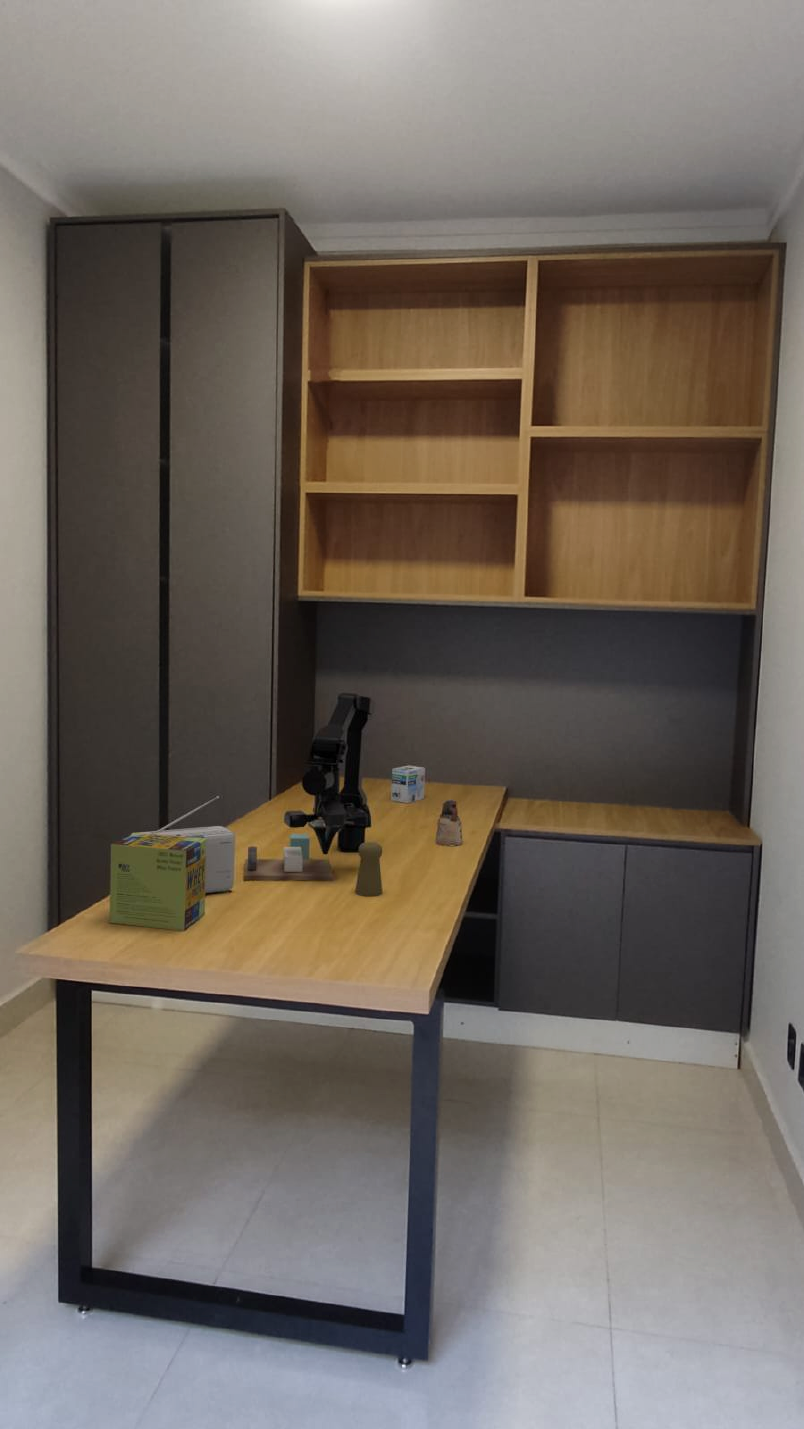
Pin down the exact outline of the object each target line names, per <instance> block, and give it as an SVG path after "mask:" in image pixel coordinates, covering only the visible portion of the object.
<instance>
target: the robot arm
mask: <svg viewBox="0 0 804 1429" xmlns="http://www.w3.org/2000/svg"><path fill="white" fill-rule="evenodd" d="M375 710H376V703H375V701H374V700H373V699H372V698H371V696H369V695H360V694H358V693H357V692H356V693H355V692H341V693H338V696H337V703H336V705H335V707H334V709H333V712H332V713H331V715H330V718H329V720H328V722H327V724H326V725H325V726H323V727H322V728H320V729H318V730H317V732H316V733H315V735H314V736H313V738H312V739H311V742H310V745H309V750H308V753H307V757H306V760H305V764H306V765H309V766H310V770H308V771H307V772H306V773H304V774H303V777H302V779H301V786H302V789H303V790H304V792H305V793H306V794H308V795H309V796H313V797H314V799H313V800H314V804H313V806H314V807H313V808H312V813H308V814H307V813H305V812H304V811H302V810H287V811H286V812H285V813H284V815H283V816H284V817H283V823H285V825H286V826H287V827H289V828H293V829H295V828H304V827H306V825H307V826H308V827H310V828H311V829H312V830H313V831H314V833H315V836H316V837H317V841H318V843H319V846H320V850H321V853H322V854H323V855H328V853H329V851H330V848H331V845H332V843H333V840H334V838H335V837H336V838H337V839H336V842H337V843H336V846H337V848H338V849H339V852H354V853H355V852H358V851H359V846H360V845H361V844H362V843H365V841H366V839H365V838H366V829H369V828H371V827H372V814H371V811H370V806H369V805H368V797H367V795H366V793H365V791H364V789H363V787H362V785H363V784H362V783H363V769H364V768H363V767H364V756H365V755H364V751H365V735H366V730H367V729H368V727H369V726H370V724H371V722H372V721H373V716H374V714H375ZM342 764H344V772H343V773H344V774H343V775H344V777H343V787H342V788H341V790H340V786H341V785H340V784H341V782H340V781H341V780H340V779H341V778H340V777H341V766H342ZM336 835H337V836H336Z"/></svg>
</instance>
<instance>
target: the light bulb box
mask: <svg viewBox="0 0 804 1429" xmlns="http://www.w3.org/2000/svg"><path fill="white" fill-rule="evenodd" d="M425 776H426V767H424V766H423V767H421V766H415V765H409V764H408V765H406V766H399V767H395V768H392V770H391V789H390V790H391V793H390V796H391V797H390V800H391V801H393V802H399V803H402V804H403V803H404V804H409V803H414V802H417V801H422V799H423V800H424V798H425V797H424V796H425V781H426V780H425V779H426V777H425Z"/></svg>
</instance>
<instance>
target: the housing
mask: <svg viewBox="0 0 804 1429" xmlns="http://www.w3.org/2000/svg"><path fill="white" fill-rule="evenodd" d="M282 859H283V862H284V872H302V860H303V856H302V851H301V847H290V846H283V858H282Z"/></svg>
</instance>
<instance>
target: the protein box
mask: <svg viewBox="0 0 804 1429" xmlns="http://www.w3.org/2000/svg"><path fill="white" fill-rule="evenodd" d="M134 833H135V834H133V835H131V834H130V835H128V836H126V837H123V838H122V839H120V840H117V841H115V842H113V843H111V844H110V883H109V884H110V886H109V887H110V889H109V893H110V894H109V923H110V924H117V925H129V926H136V927H145V928H155V929H164V930H174V931H180V932H181V931H183V932H184V931H185V930H186V929H188V928H190V927H191V926H192V925H193V924H194V923H196V922H197V921H198V920H200V919H201V918H202V917H204V916H205V915H206V893H205V876H206V838H193V837H182V836H171V835H157V834H145V833H139V832H134Z"/></svg>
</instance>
